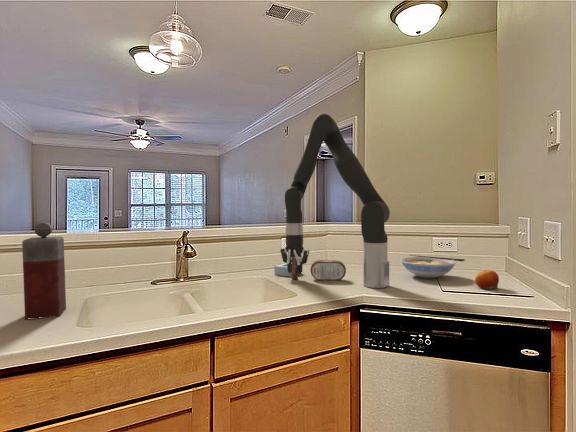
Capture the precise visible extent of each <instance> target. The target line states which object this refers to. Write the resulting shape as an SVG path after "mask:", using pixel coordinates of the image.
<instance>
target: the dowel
mask: <svg viewBox="0 0 576 432" xmlns="http://www.w3.org/2000/svg"><path fill="white" fill-rule="evenodd" d="M291 264H292V277H291V280H292V281H293V280H294V281H297V280H299V274H298V270H297V265H298V263H297V260H296V258H295V257H293V256H292V263H291Z"/></svg>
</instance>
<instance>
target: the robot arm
mask: <svg viewBox="0 0 576 432" xmlns="http://www.w3.org/2000/svg"><path fill="white" fill-rule="evenodd" d="M310 128H311V129H310V132H309V136H308V140H307V142H306V146H305V148H304V151H303V154H302V157H301V159H300V162H299V163H298V165H297V168H296V170H295V172H294V175H293V181H292V183H291V185H290V187H288V188H287V189H286V191H285V193H284V204H285V212H286V214H285V216H286V217H285V244H286V245H285V247H284V248H281V249H280V254H281V258H282V261H283V263H287V270H288V273H291V272H292V256H293V257H295V258H296V260H297V263H298V265H297V270H298V275H300V274H302V273H303V265H305V264H307V261H308V258H309V255H310V250H308V249H305V248H304V246H303V245H304V225H303V211H302V200H303V198H304V197H305V193H306V190H307V188H308V184H309V183H310V181H311V179H312V176H313V173H314V172H315V169H316V167H317V163H318V158H319V152H320V150H321V147H322V144H323V143H324V144H325V146H326V147H327V148H328V151H330V153H331V156H332V159H333V163H334V165H335V169H336V170H337V171H338V173H339V175H340V177H341V178H342V179H343V181H344V182H345V184H346V185H347V187H349V189H351V190H352V191H353V192H354V193H355V194H356V196H357V197H358V198H359V200H360V201H361V203H362V205H363V206H362V207H361V211H360V225H361V227H360V228H361V236H362V240H363V245H362V247H363V249H362V250H363V252H362V253H363V260H362V261H363V264H362V265H363V272H362V273H363V286H364V287H367V288H373V289H386V288H387V287H389V286H390V261H389V260H388V234H387V233H386V229H385V223H386V222H387V221H388V220H389V219H390V215H391V214H390V213H391V212H390V208H389V206H388V205H387V203H386V202H385V200H384V199H383V198H382V196H381V195H380V194H379V193H378V191H377V190H376V188H375V187H374V186H373V183H372V181H371V179H370V178H369V176H368V174H367V172H366V170H365V169H364V168H363V165H362V163H361V162H360V161H359V159H358V157H357V156H356V154H355V153H354V152H353V151H352V149H351V148H350V146H349V145H348V144H347V142H346V141H345V139H344V137H343V135H342V132H341V131H340V128H339V126H338V123H337V122H336V121H335V120H334V119H333V118H332V116H330V115H329V114H327V113H319V114H318V115H316V117H315V118H314V120H313V121H312V125H311V127H310Z"/></svg>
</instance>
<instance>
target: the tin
mask: <svg viewBox="0 0 576 432" xmlns="http://www.w3.org/2000/svg"><path fill="white" fill-rule="evenodd" d="M346 272H347V269H346V265H345V264H344V263H343V262H342V261H340V260H331V259H329V260H327V259H325V260H324V259H317V260H315V261H313V263H312V264H311V266H310V274H311V277H313V279H314V280H317V281H332V282H333V281H335V282H336V281H341V280H342V279H344V277H346V276H345V275H346Z"/></svg>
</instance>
